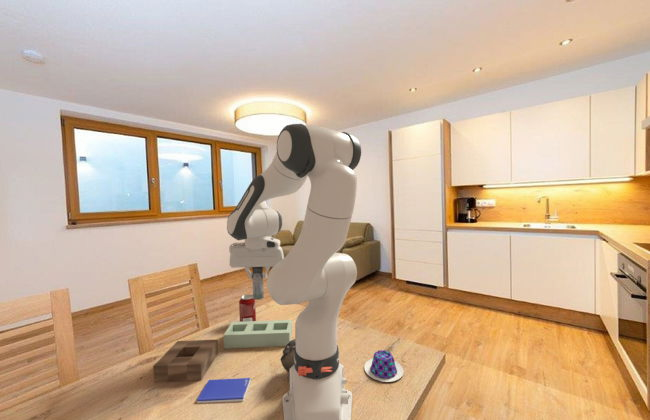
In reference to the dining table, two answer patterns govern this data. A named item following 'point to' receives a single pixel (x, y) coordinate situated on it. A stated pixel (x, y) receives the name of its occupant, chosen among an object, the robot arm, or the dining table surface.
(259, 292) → the salt shaker
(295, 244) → the robot arm
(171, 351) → the socket block
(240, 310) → the soda can
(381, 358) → the pudding
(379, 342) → the dining table surface
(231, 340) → the tool rack
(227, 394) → the blue book
